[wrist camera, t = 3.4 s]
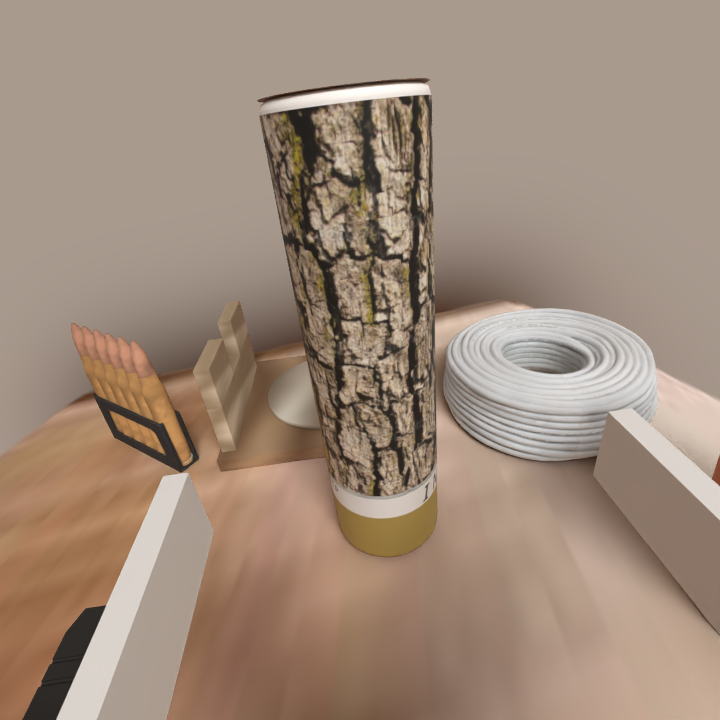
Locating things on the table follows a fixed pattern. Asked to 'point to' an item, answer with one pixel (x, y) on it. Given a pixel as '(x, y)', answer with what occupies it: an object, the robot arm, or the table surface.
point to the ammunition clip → (133, 398)
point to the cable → (546, 381)
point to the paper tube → (365, 293)
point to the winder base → (256, 400)
